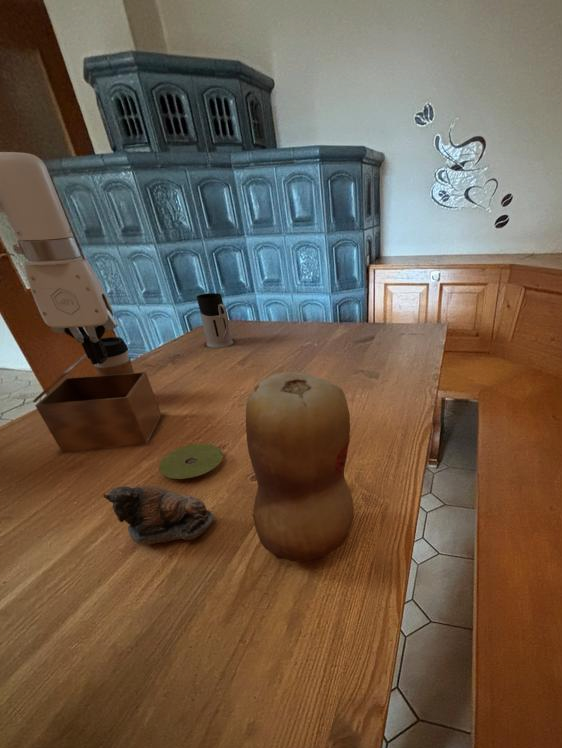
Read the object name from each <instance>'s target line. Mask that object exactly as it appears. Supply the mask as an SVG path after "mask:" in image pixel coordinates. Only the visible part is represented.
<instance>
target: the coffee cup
mask: <svg viewBox="0 0 562 748" xmlns="http://www.w3.org/2000/svg"><path fill="white" fill-rule="evenodd" d="M101 339H102V342H103V344H104V347H105V349H106V351H107V354H108V356H107V360H106V361H105V362H104V363H103V364H98V363H97V364H94V365H93V364H92V366H93V367H94V369H95V372H96V373H97V376H100V375H114V374H127V373H135V371H134V368H133V367H134V366H133V363H132V360H131V357H130V356H129V354H128V351H129V347H128V345H127V343H126V342H125V340H124V339H123V338H122V337H119V336H108V337H102V338H101Z"/></svg>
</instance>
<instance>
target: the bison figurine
mask: <svg viewBox="0 0 562 748" xmlns="http://www.w3.org/2000/svg"><path fill="white" fill-rule="evenodd" d="M102 497H103V498H104V499H106V500H108V501H109V502H110V503H112V510H113V513H114V514H115V515H116V518H117V519H118V521H119V522H120V523H124V522H125V523H127V524H128V527H127V530H128V535H129V537H130V538H131V540H132V541H133V542H134V543H137V544H138V545H141V546H149V545H153V544H154V545H155V544H160V543H168V542H171V541H174V540H185V541H189V540H190V541H191V540H196V539H197V538H198V537H200V536H201V535H202V534H203V533H205V531H206V530H207V529H208V528H209V527H211V525H212V523H213V521H214V516H213V514H212V513H213V512H212V511H210V510H208V509H207V507H206V505H205V502H203V501H202V500H200V498H197V497H195V496H192V495H189V494H180V493H177V492H173V491H169V490H167V489H165V488H161V487H159V486H154V485H145V484H142V485H137V486H135V487H131V486H125V485H123V486H122V485H121V486H117V487H114V488H113V489H111V490H110V491H109V492H108V493H107V494H105V493H103V494H102Z"/></svg>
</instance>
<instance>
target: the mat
mask: <svg viewBox="0 0 562 748" xmlns="http://www.w3.org/2000/svg"><path fill="white" fill-rule="evenodd" d="M223 458H224V454H223V451H222V450H221V449H220V448H219V447H217V446H216V445H214V444H213V445H212V444H208V443H195V444H190V445H185V446H181V447H178V448H177V449H174V450H172V451H171V452H169V453H167V454H166V455H165V456H164V457H162V459H161V460H160V462H159V463H158V471H159V473H160V474H161V475H162V476H164V477H167V478H170V479H175V480H176V479H178V480H183V479H189V478H195V477H200V476H202V475H205V474H207V473H209V472H210V471H212V470H214V469H215V468H217V467H218V466H219V465H220V464H221V462H222V460H223Z"/></svg>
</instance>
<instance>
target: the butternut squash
mask: <svg viewBox="0 0 562 748" xmlns="http://www.w3.org/2000/svg"><path fill="white" fill-rule="evenodd" d="M350 413H351V412H350V410H349V404H348V402H347V398H346V395H345V392H344V390H343V389H342V388H341V387H340V386H338V385H335V384H333V383H332V382H330V380H327V379H325V378H322V377H318V376H315V375H312V374H309V373H305V372H293V371H286V372H279V373H276V374H274V375H273V376H270V377H267V378H265V379H263V380H261V381H260V382H259V383H257V384H256V385H255V387H254V388H253V389H252V391H251V392H250V394H249V396H248V398H247V402H246V406H245V433H246V434H245V435H246V445H247V452H248V457H249V459H250V462H251V465H252V470H253V472H254V476H255V479H256V483H257V491H256V495H255V498H254V505H253V513H252V517H253V523H254V528H255V531H256V533H257V536H258V539H259V542H260V544H261V546H262V547H263V548H264V549H265V550H267V552H269V553H270V554H272V555H273V556H274V557H275V558H277V559H279V560H287V561H290V562H307V561H311V560H314V559H319V558H323V557H324V556H326V555H329V554H330V553H332V552H334V551H336V550H337V549H338V548H340V547H341V546H342V545H343V544H344V542H345V541H346V540H347V538H348V536H349V534H350V529H351V527H352V524H353V519H354V511H355V509H354V501H353V496H352V491H351V488H350V487H349V484H348V482H347V480H346V477H345V467H346V463H347V457H348V453H349V446H350V439H351V436H350V434H351V418H350V415H351V414H350Z"/></svg>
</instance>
